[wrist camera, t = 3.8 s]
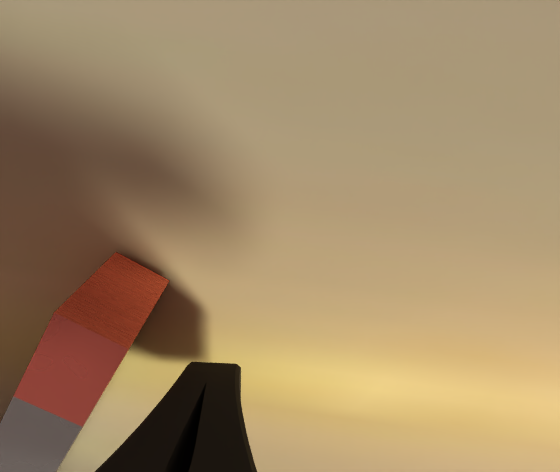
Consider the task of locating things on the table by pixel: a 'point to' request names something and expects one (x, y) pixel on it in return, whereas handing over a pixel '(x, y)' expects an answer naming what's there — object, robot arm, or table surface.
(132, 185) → the table surface
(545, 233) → the table surface
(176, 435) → the robot arm
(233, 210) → the table surface
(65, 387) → the tongs jaw
